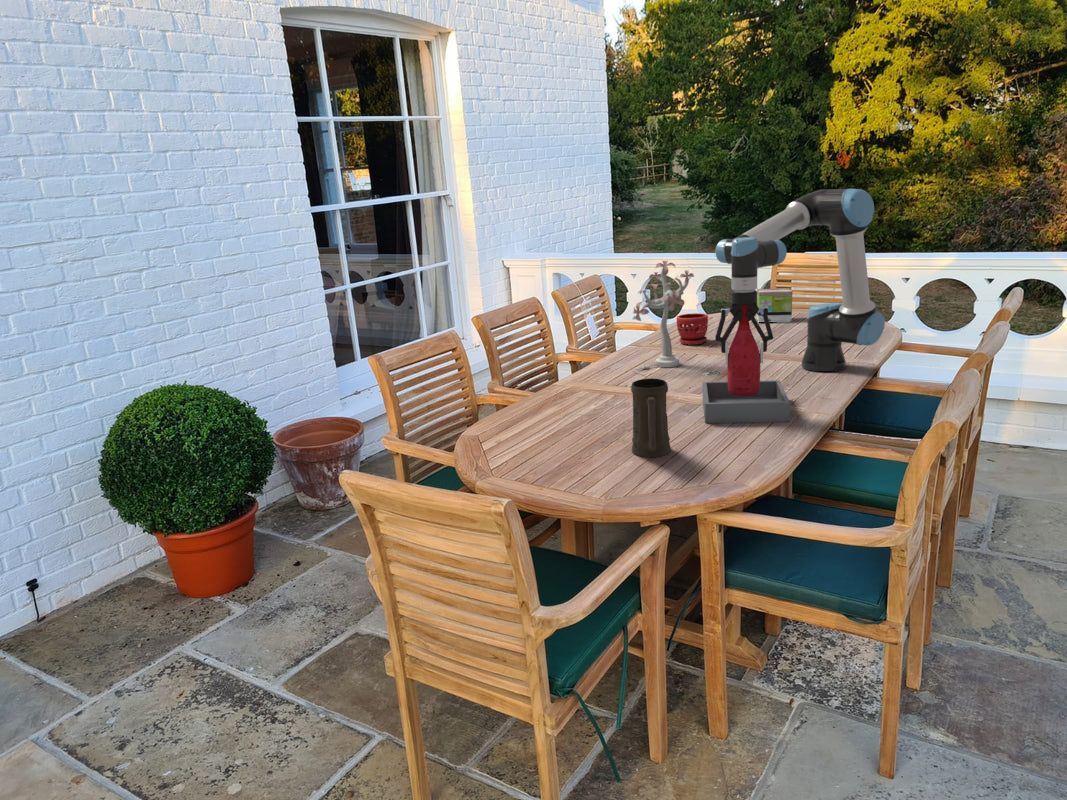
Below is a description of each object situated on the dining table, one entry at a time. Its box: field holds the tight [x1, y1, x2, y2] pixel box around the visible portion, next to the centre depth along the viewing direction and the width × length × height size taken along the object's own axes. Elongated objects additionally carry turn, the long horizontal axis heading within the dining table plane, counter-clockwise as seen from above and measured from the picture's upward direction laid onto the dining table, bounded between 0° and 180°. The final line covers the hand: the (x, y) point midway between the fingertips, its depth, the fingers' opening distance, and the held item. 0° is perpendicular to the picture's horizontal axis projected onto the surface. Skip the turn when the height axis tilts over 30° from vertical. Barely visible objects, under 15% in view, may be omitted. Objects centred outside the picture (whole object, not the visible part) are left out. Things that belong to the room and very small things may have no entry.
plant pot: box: [676, 312, 709, 346], centre depth 342 cm, size 13×13×12 cm
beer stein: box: [630, 378, 672, 458], centre depth 217 cm, size 15×11×20 cm
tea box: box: [755, 287, 793, 323], centre depth 372 cm, size 15×10×15 cm
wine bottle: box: [726, 305, 761, 396], centre depth 245 cm, size 10×10×30 cm
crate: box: [702, 379, 791, 424], centre depth 250 cm, size 24×24×6 cm
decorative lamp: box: [632, 259, 695, 377], centre depth 304 cm, size 28×24×40 cm
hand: (743, 362), depth 246 cm, fingers closed on wine bottle, 10 cm apart
